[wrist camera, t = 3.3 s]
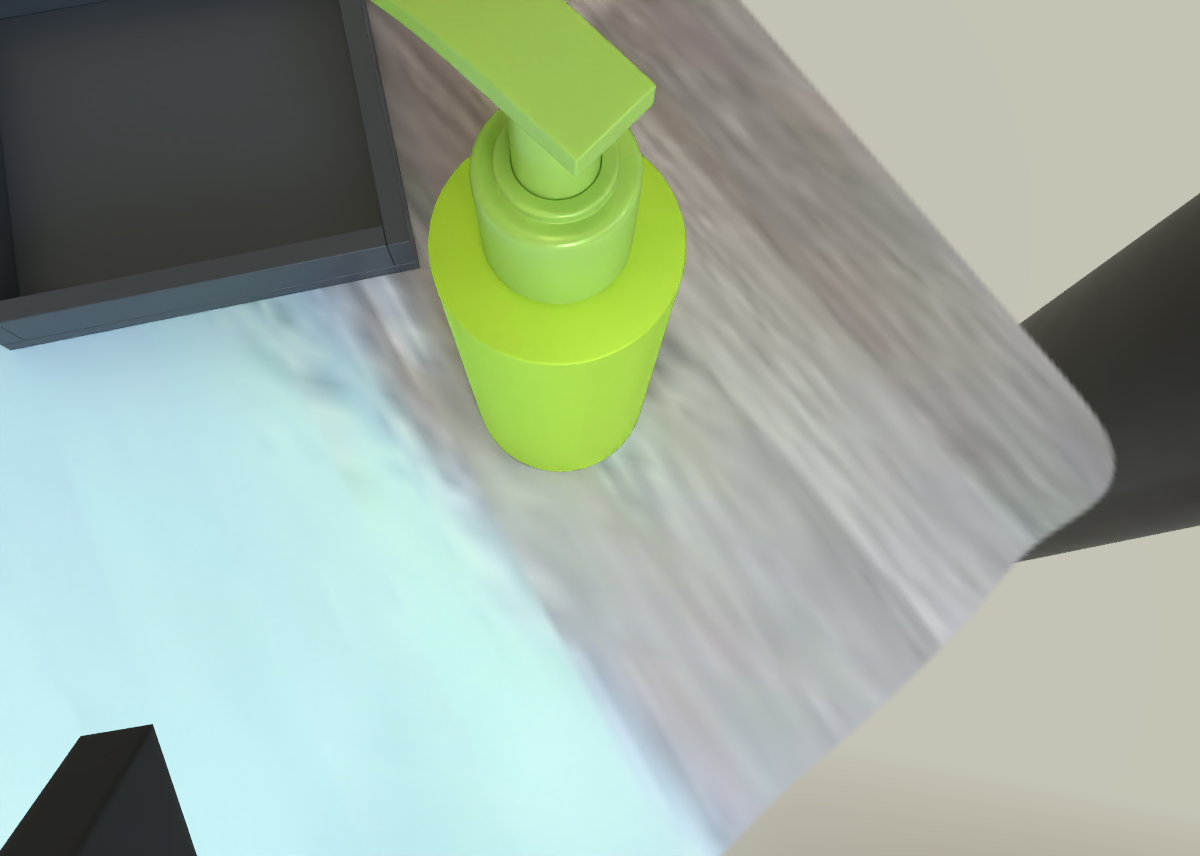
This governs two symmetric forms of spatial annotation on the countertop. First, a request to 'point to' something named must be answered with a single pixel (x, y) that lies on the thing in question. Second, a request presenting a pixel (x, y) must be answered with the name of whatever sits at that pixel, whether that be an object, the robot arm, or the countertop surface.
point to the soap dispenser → (551, 229)
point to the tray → (188, 159)
